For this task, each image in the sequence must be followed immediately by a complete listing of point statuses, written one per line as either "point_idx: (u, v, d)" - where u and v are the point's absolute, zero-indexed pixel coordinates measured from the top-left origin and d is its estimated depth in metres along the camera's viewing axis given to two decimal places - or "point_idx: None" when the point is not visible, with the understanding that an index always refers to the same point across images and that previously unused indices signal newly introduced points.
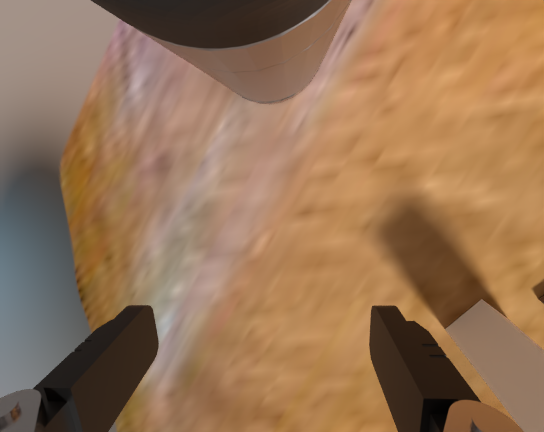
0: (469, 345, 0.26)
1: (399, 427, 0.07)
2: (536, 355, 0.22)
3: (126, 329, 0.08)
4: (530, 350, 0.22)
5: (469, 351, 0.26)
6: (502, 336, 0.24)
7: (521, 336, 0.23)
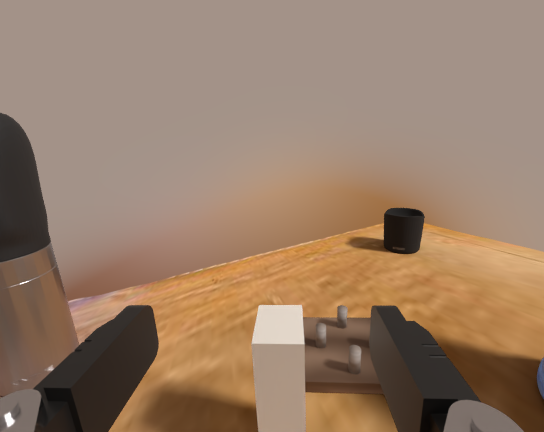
0: None
1: (399, 427, 0.07)
2: None
3: (126, 329, 0.08)
4: None
5: None
6: None
7: None
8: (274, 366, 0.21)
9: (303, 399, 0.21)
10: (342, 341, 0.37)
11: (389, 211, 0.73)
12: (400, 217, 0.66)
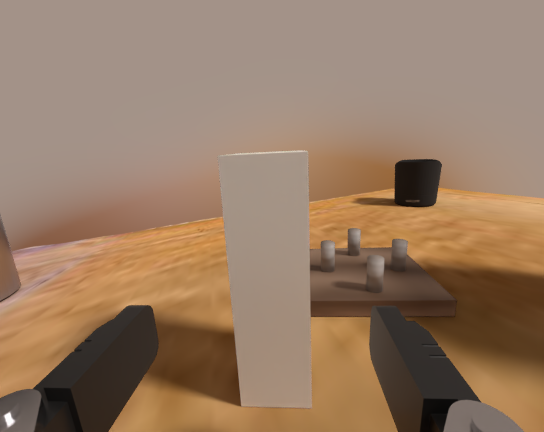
0: None
1: (399, 427, 0.07)
2: None
3: (126, 329, 0.08)
4: None
5: None
6: None
7: None
8: (257, 200, 0.12)
9: (306, 263, 0.13)
10: (355, 266, 0.29)
11: None
12: (414, 163, 0.58)
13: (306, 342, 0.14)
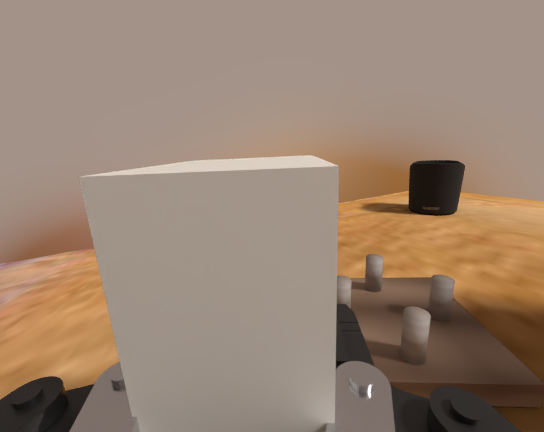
0: None
1: None
2: None
3: None
4: None
5: None
6: None
7: None
8: (198, 295, 0.05)
9: None
10: (378, 310, 0.21)
11: None
12: (434, 165, 0.50)
13: None
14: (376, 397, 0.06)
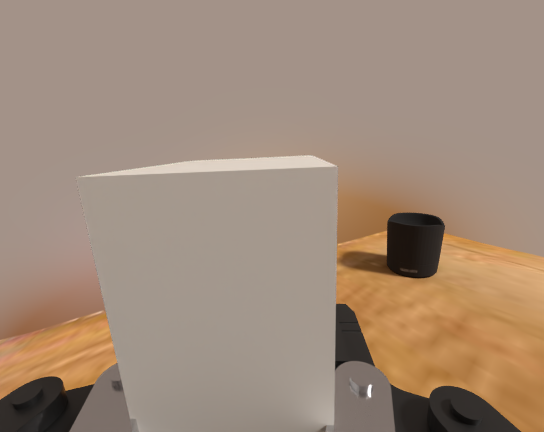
0: None
1: None
2: None
3: None
4: None
5: None
6: None
7: None
8: (196, 296, 0.05)
9: None
10: None
11: (394, 217, 0.53)
12: (411, 227, 0.46)
13: None
14: (376, 397, 0.06)
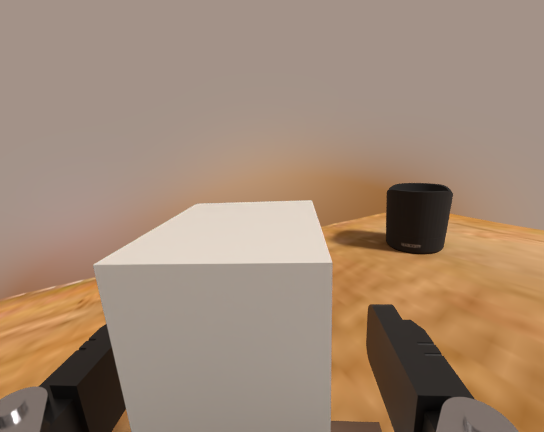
0: None
1: (394, 424, 0.07)
2: None
3: None
4: None
5: None
6: None
7: None
8: (202, 368, 0.05)
9: None
10: None
11: (394, 188, 0.47)
12: (414, 193, 0.40)
13: None
14: None
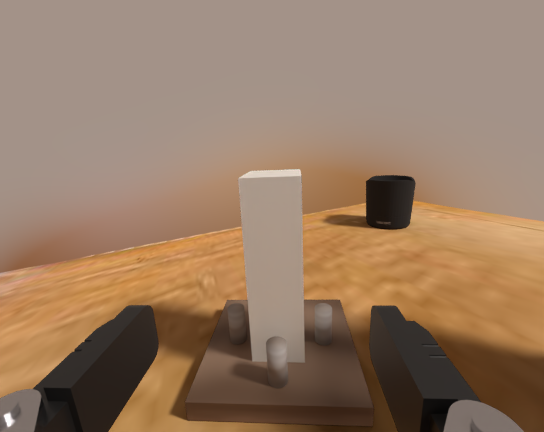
0: None
1: (399, 427, 0.07)
2: None
3: (126, 329, 0.08)
4: None
5: None
6: None
7: None
8: (265, 209, 0.17)
9: (300, 254, 0.18)
10: None
11: (373, 179, 0.59)
12: (384, 182, 0.52)
13: (300, 312, 0.19)
14: None
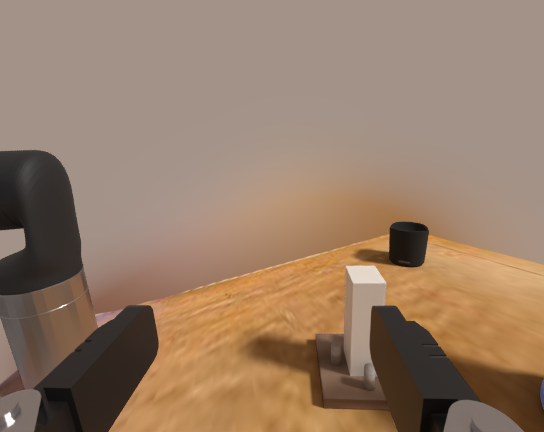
0: (349, 351, 0.37)
1: (399, 427, 0.07)
2: (345, 311, 0.39)
3: (126, 329, 0.08)
4: (345, 314, 0.39)
5: (350, 351, 0.36)
6: (345, 330, 0.39)
7: (344, 320, 0.40)
8: (366, 298, 0.34)
9: None
10: None
11: (394, 225, 0.76)
12: (405, 232, 0.68)
13: None
14: None
